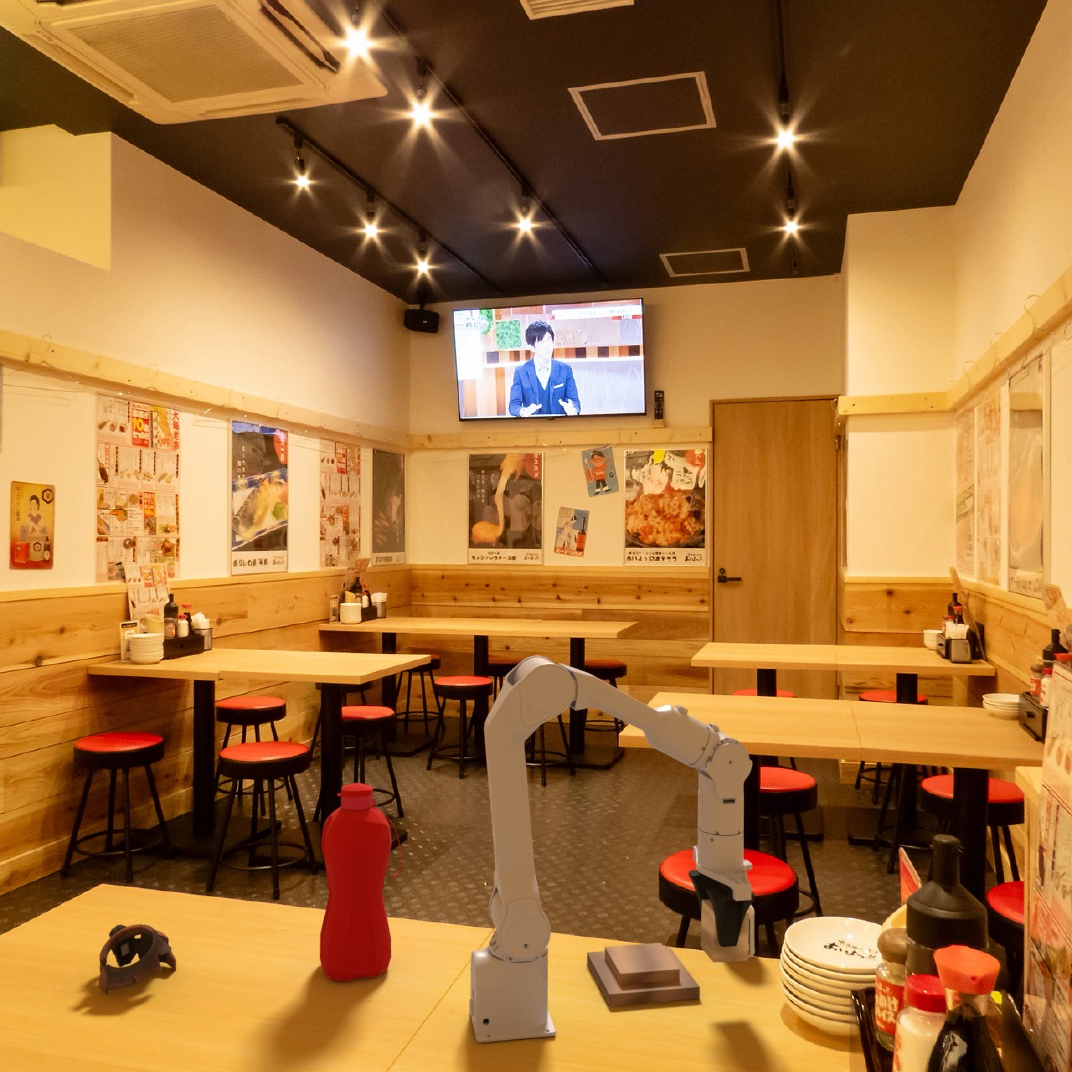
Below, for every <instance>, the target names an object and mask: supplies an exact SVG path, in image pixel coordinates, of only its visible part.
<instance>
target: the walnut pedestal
mask: <svg viewBox="0 0 1072 1072" xmlns="http://www.w3.org/2000/svg"><path fill="white" fill-rule="evenodd" d="M668 948H670V949H668ZM586 959H587V960H586V963H587V966H588V968H589V970H590V972H591V974H592V976H593V978H594V979H595V980H594V981H596V984H597V985H598V988H599V989H600V992H601V993H602V994H603V997H604V999H605V1001H606V1002H607V1005H608V1006H609V1007H617V1006H619V1007H620V1006H628V1005H629V1006H630V1005H638V1004H639V1005H640V1004H651V1003H664V1002H665V1001H666V1002H675V1001H676V1000H678V1001H690V1000H699V999H700V998H701V996H700V995H701V994H700V993H701V989H700V988H701V987H700V985H699V984H698V983H697V981H696V980H695V979H694V977H693V976H692V975H691V973H690V972H689V970H688V969H687V967H686V966H685V965H684V964H683V962H682V961H681V960H680V959H679V957H678V956H677V954H676V953H675V952H674V951H673V949H672V948H671V947H670V946H663V944H662V943H661V942H654V943H640V944H638V943H637V944H626V945H613V946H610V945H609V946H604V951H603V950H602V951H590V952H589V951H588V952H586ZM688 999H689V1000H688ZM674 1000H675V1001H674ZM666 1002H665V1003H666Z"/></svg>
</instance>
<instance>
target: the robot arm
mask: <svg viewBox="0 0 1072 1072" xmlns="http://www.w3.org/2000/svg"><path fill="white" fill-rule="evenodd" d="M569 707H570V708H571V709H573V710H574V711H580V710H585V709H589V708H595V709H598V710H599V711H601V712H603V713H605V714H608V715H610V716H611V717H614V718H616V719H618V720H620V721H622V722H625V723H626V724H628V725H631V726H633V727H635V728H637V729H639V730H640V731H642V732H643V734H644V737H645V740H646V743H647V745H648V746H649V747H650V748H653V749H655V750H657V751H659V752H660V753H662V754H665V755H667V756H668V757H671V758H672V759H674V760H676V761H678V762H680V763H682V764H684V765H686V766H688V767H690V768H695V769H696V770H697V771H698V774H697V775H698V777H697V779H698V785H697V786H698V789H697V790H698V791H697V845H694V846H692V847H693V848H692V849H693V850H692V853H693V855H692V859H693V862H695V869H691V870H689V871H688V876H689V877H688V878H690V879H689V880H690V881H691V883H692V885H693V887H694V890H695V893H696V897H697V899H698V905H699V910H700V914H701V913H702V900H708V899H710V900H711V903H712V906H713V910H714V914H715V920H716V929H717V937H718V941H719V945H720V946H721V947H732V946H737V943H738V939H739V935H740V931H741V927H742V924H743V920H744V917H745V915H746V913H747V911H748V909H749V907H750V905H751V906H752V904H753V902H754V901H755V897H756V896H755V892H754V891H752V883H751V882H750V880H749V879H748V874H747V871H751V870H753V863H752V862H750V861H749V860H748V859H744V849H745V848H744V844H745V843H744V835H745V834H744V829H745V828H744V826H745V825H744V823H745V822H744V820H745V819H744V817H745V815H744V813H745V812H744V810H745V807H744V806H745V804H744V803H745V798H744V797H745V796H744V795H745V794H744V783H745V780H746V779H747V778H748V777H749V775H750V773H751V771H752V767H753V761H752V760H751V759H750V755H749V752H748V749H747V748H746V746H745V745H744V744H743V743H742V742H741V741H739V740H738V739H735V738H733V737H732V736H730V735H728V734H726V733H723V732H721V730H720V726H718V725H716V724H715V723H713V722H710V723H708V724H707V723H705V722H703V721H701V720H699V719H697V718H695V717H693V716H691V715H689V714H688V712H689V709H688V708H686V707H684V706H682V705H680V704H676V705H675V706H672V705H670V704H664V705H661V706H659V707H655V708H653V707H651V706H649V705H647V704H646V703H643V702H642V701H640V700H638V699H636V698H634V697H632V696H631V695H629V694H627V693H626V692H624V691H622V690H621V689H619V688H617V687H615V686H613V685H612V684H609V683H608V682H605V681H604V680H603V679H600V678H598V677H597V676H595V675H593V674H591V673H589V672H586V671H585V670H584V671H583V670H580V669H578V668H575V667H572V666H570V665H567V664H564V663H561V662H558V664H556V663H555V662H554V661H553V660H551V659H550V658H548V657H546V656H542V655H532V656H528V657H526V658H524V659H523V660H521V661H520V662H518V664H517V665H515V667H513V668H512V669H511V670H510V671H509V672H508V673H507V674H506V675H505V678H504V681H503V684H502V687H501V690H500V691H499V693H498V695H497V696H496V699H495V701H494V702H493V705H492V707H491V708H490V711H489V712H488V714H487V717H486V719H485V721H484V726H483V732H484V745H485V757H486V770H487V779H488V792H489V793H488V794H489V803H490V804H489V805H490V806H489V807H490V816H491V817H490V818H491V826H492V827H491V828H492V829H491V830H492V843H493V853H494V862H495V863H494V865H495V866H494V867H495V869H494V872H493V880H494V881H493V883H494V884H493V891H492V893H491V896H490V898H489V902H488V912H489V915H490V918H491V920H492V922H493V925H494V927H495V930H494V932H493V934H492V935H491V938H490V940H489V942H488V946H485V947H483V948H481V949H476V950H472V952H471V954H470V955H471V956H470V999H469V1004H468V1005H469V1015H470V1017H471V1022H472V1028H473V1031H474V1037H475V1041H476V1042H478V1043H488V1042H500V1041H509V1040H510V1041H511V1040H521V1039H533V1038H544V1037H545V1038H546V1037H553V1036H554V1037H555V1035H556V1034H557V1030H556V1027H555V1024H554V1021H553V1019H552V1016H551V1014H550V1011H549V1009H548V1008H549V1007H548V1003H549V1002H548V999H549V997H548V996H549V993H548V992H549V991H548V990H549V983H548V982H549V976H548V975H549V942H550V939H551V934H552V932H551V931H552V929H551V928H552V927H551V925H550V920H549V918H548V917H547V915H546V914H545V912H544V910H543V909H542V905H541V896H540V891H539V885H538V881H537V875H536V869H535V858H534V857H535V856H534V847H533V846H534V845H533V834H532V833H533V832H532V823H531V811H530V810H531V808H530V798H529V786H528V773H527V764H526V763H527V762H526V751H525V750H526V748H525V743H526V740H527V739H529V737H530V736H531V735H532V734H533V733H534V732H536V730H537V729H538V728H539V727H540V726H541V725H543V724H544V723H546V722H548V721H549V720H552V719H554V718H556V717H558V716H560V714H562V713H564V712H565V711H567V710H568V708H569Z"/></svg>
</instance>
